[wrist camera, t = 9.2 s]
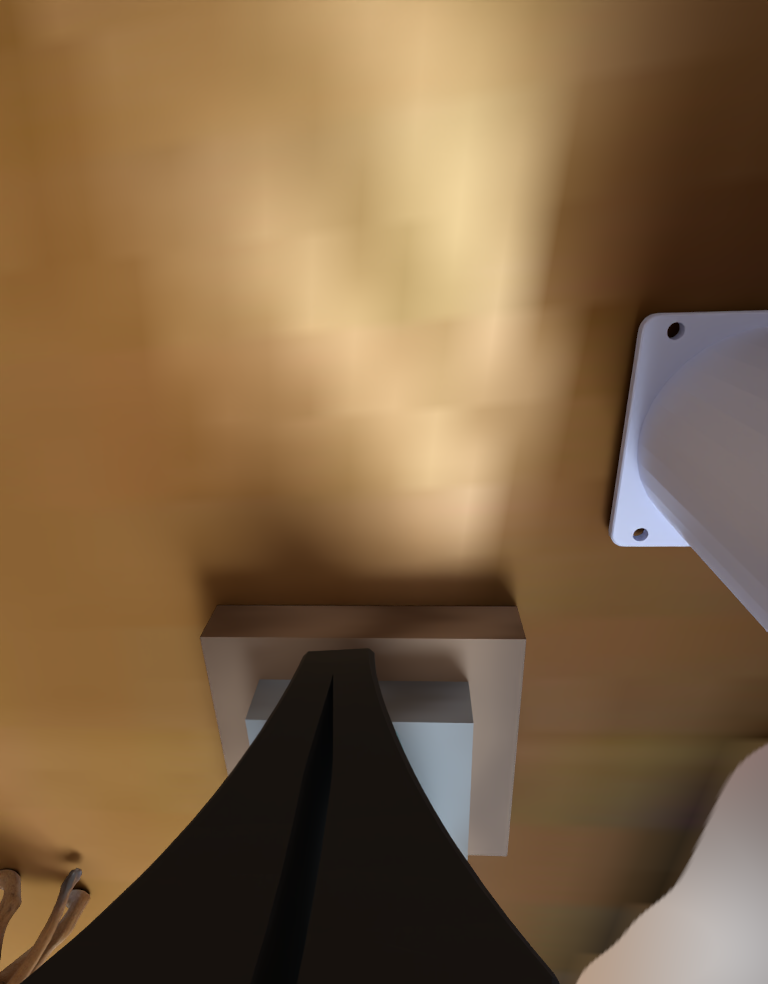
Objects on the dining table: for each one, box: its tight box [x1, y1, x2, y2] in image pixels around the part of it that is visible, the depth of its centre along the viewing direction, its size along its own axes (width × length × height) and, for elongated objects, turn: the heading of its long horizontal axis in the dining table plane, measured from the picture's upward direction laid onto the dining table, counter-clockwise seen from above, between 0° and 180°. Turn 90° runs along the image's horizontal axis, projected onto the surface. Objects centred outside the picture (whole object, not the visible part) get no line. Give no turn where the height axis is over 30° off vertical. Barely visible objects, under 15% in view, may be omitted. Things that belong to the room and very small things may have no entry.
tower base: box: [200, 605, 526, 860], centre depth 23 cm, size 12×12×4 cm
